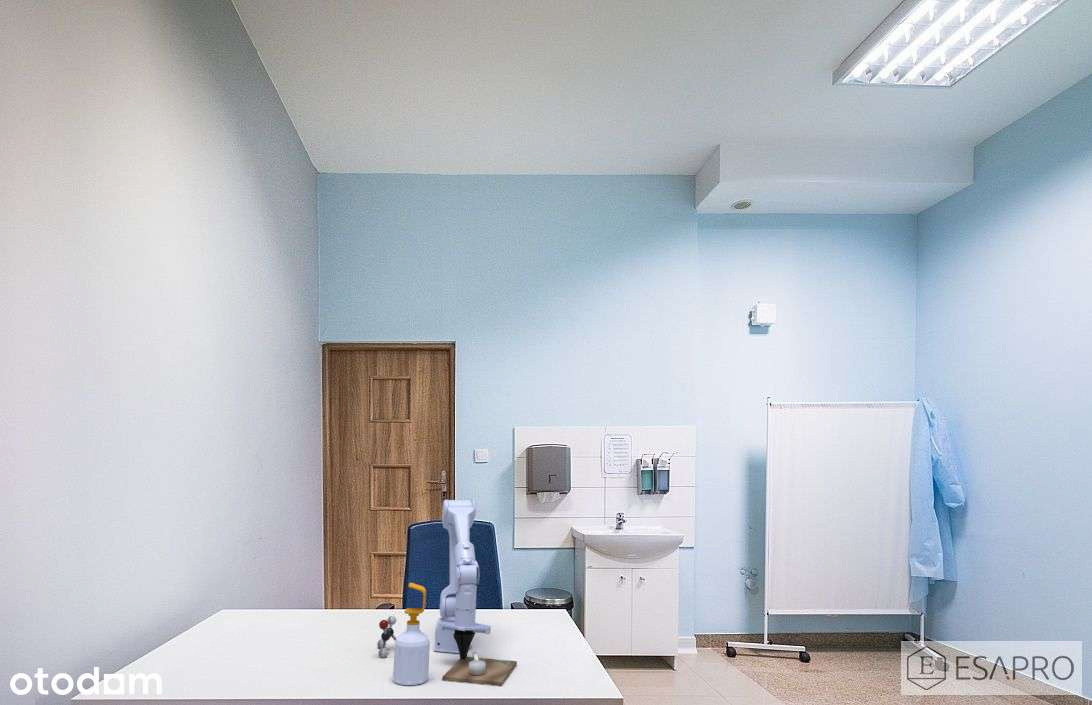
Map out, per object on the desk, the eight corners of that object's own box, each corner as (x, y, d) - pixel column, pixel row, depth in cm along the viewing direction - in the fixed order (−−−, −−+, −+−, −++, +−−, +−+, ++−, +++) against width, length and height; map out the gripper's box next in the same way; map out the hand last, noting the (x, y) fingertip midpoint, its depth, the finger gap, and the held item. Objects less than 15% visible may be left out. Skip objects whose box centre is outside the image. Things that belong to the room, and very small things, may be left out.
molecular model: (405, 648, 219) (407, 611, 220) (395, 660, 207) (397, 621, 208) (378, 646, 219) (380, 610, 220) (366, 659, 207) (369, 620, 208)
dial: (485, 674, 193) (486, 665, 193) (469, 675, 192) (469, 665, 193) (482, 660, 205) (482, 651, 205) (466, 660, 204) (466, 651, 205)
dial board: (442, 680, 191) (442, 675, 191) (462, 659, 209) (462, 655, 209) (501, 686, 188) (501, 681, 188) (516, 664, 206) (516, 660, 206)
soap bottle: (395, 674, 195) (399, 580, 198) (429, 674, 196) (433, 580, 198) (390, 686, 186) (395, 587, 189) (426, 686, 187) (431, 587, 189)
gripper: (436, 609, 203) (434, 660, 201) (486, 613, 200) (484, 665, 199) (444, 603, 210) (442, 652, 208) (493, 607, 207) (491, 657, 206)
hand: (463, 658), depth 204 cm, fingers closed
